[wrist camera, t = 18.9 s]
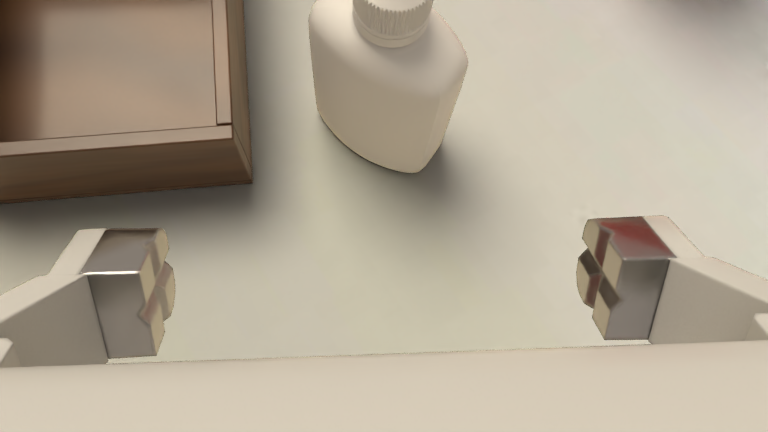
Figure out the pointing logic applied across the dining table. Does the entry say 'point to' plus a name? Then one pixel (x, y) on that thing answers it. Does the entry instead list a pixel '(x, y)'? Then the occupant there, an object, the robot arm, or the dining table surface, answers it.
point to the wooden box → (121, 97)
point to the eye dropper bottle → (386, 77)
